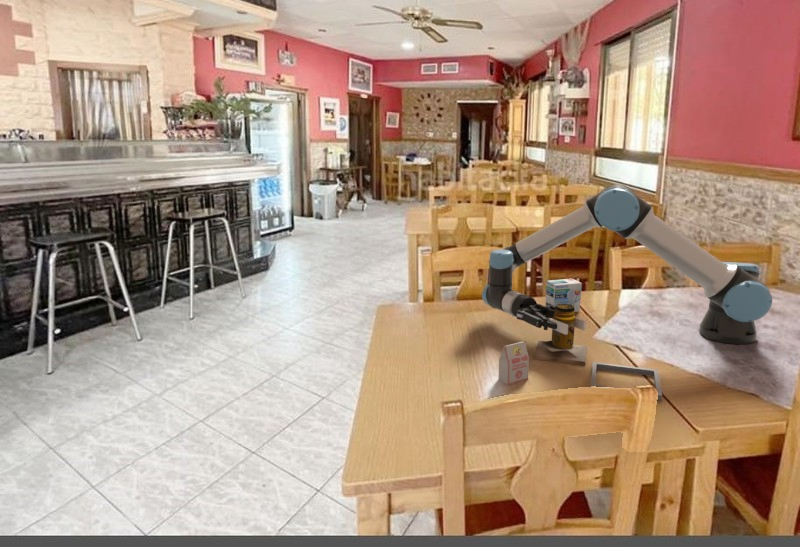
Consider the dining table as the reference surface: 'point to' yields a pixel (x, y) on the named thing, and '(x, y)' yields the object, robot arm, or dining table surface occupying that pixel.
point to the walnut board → (561, 354)
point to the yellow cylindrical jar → (561, 340)
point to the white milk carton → (514, 363)
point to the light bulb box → (564, 293)
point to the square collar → (627, 370)
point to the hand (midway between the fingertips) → (575, 327)
